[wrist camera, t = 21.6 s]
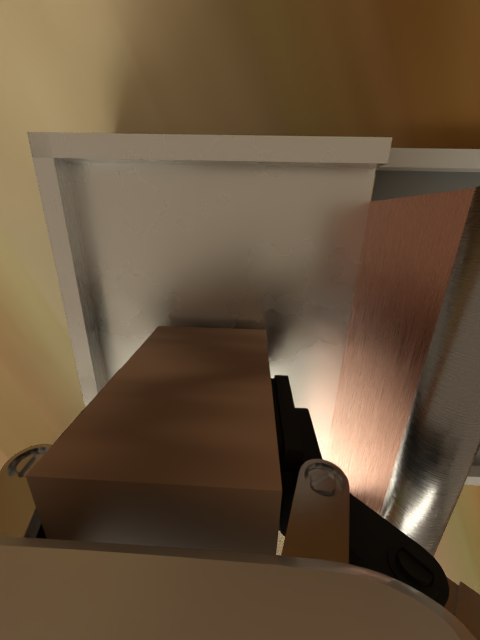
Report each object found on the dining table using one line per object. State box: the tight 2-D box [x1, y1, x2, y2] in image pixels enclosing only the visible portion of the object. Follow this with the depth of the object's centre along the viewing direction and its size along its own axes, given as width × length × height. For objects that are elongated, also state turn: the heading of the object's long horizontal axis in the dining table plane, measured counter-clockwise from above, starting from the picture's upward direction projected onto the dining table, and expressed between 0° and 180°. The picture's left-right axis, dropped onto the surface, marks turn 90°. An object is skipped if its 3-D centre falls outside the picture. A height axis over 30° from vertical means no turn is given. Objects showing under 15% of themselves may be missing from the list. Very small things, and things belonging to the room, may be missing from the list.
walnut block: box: [26, 326, 282, 555], centre depth 10 cm, size 5×5×8 cm
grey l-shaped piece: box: [27, 132, 480, 557], centre depth 13 cm, size 14×20×11 cm
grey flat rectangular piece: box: [370, 148, 480, 485], centre depth 17 cm, size 28×21×2 cm
